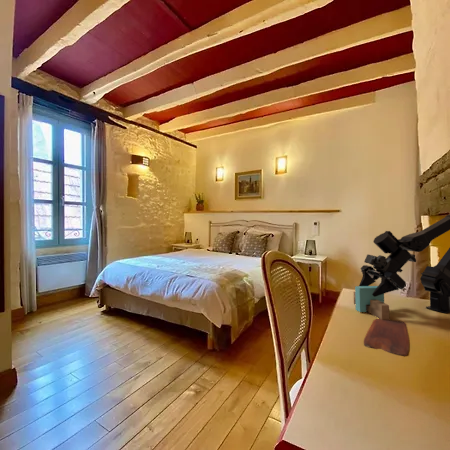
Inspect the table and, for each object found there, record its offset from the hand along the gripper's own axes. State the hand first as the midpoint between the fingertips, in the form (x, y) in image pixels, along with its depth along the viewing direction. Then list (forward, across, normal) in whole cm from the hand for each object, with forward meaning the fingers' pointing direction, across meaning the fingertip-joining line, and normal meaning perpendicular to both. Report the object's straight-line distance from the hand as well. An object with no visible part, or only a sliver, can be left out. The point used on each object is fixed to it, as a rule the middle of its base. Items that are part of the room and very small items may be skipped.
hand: (365, 292), depth 93 cm
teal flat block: (+4, 0, +6) cm, 7 cm away
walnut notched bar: (+4, 0, +6) cm, 7 cm away
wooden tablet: (+9, +19, +2) cm, 21 cm away
